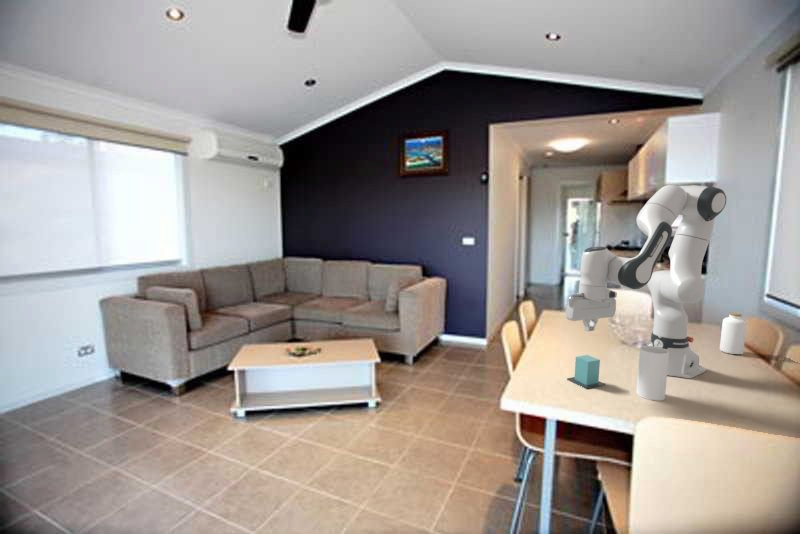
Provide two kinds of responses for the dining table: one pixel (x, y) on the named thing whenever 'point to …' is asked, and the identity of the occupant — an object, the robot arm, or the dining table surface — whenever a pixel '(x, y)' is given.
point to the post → (586, 385)
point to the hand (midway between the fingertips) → (589, 330)
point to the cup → (652, 372)
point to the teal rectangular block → (587, 369)
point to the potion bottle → (733, 334)
